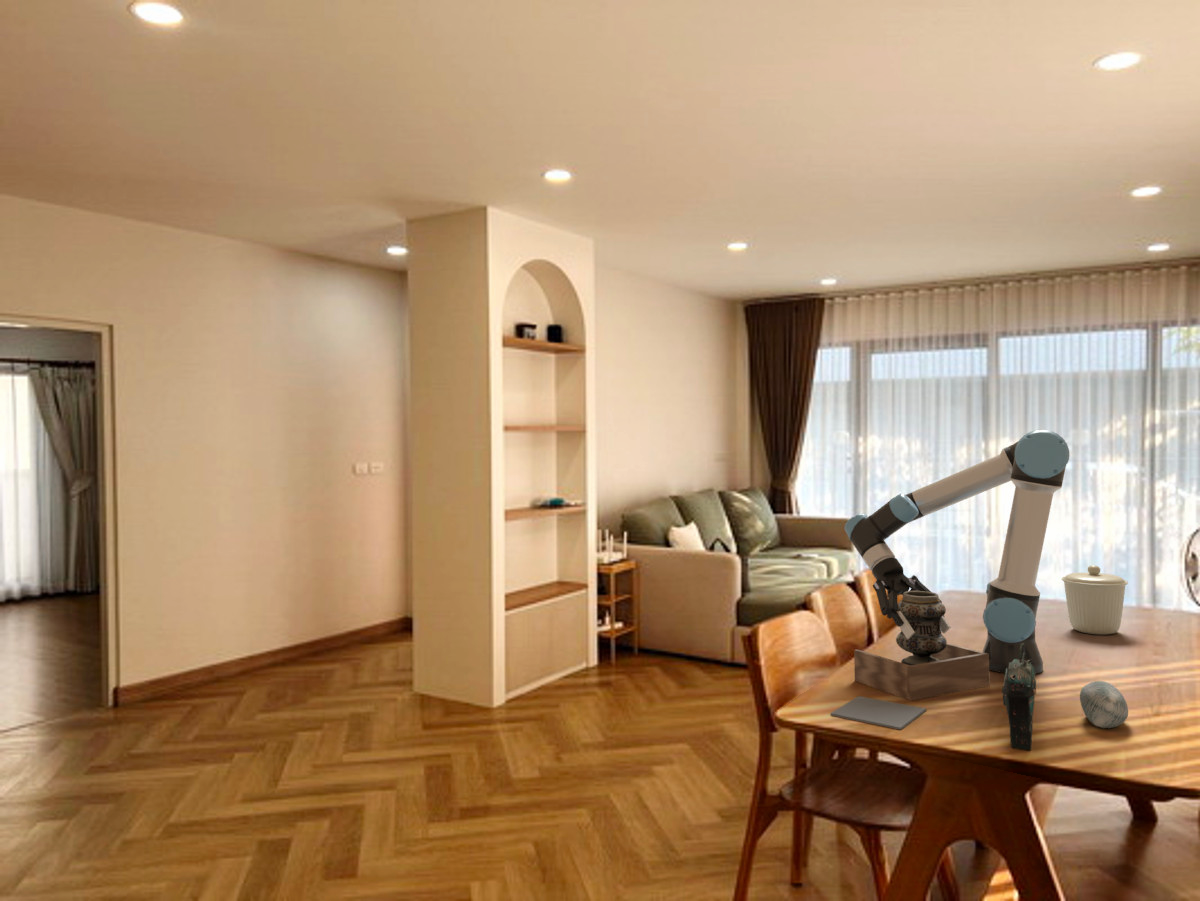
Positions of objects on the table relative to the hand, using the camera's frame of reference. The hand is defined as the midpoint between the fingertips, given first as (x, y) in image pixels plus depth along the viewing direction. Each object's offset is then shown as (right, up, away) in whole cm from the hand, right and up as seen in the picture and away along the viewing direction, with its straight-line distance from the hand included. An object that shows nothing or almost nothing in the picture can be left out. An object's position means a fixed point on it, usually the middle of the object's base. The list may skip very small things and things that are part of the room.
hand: (929, 633), depth 209 cm
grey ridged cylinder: (+27, -13, -29) cm, 41 cm away
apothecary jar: (-1, -9, +3) cm, 9 cm away
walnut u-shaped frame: (-1, -13, +2) cm, 14 cm away
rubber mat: (-19, -14, -20) cm, 31 cm away
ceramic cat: (+5, -14, -36) cm, 39 cm away
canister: (+75, -12, +55) cm, 94 cm away
